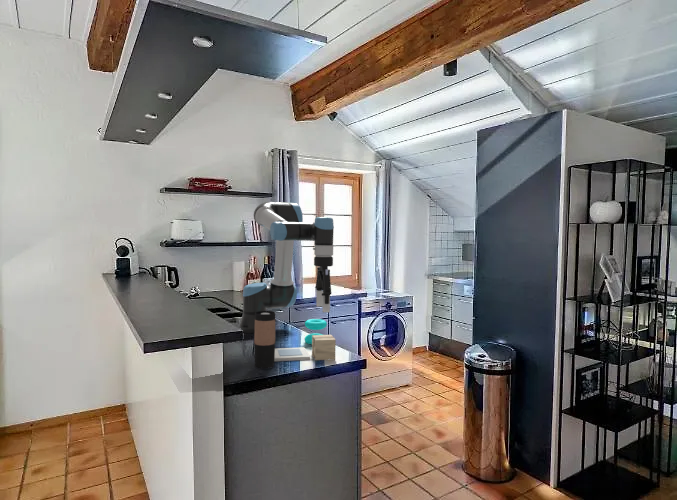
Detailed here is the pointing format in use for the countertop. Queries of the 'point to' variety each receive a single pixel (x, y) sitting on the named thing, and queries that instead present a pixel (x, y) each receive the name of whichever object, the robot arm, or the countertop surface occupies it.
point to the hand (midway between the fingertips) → (322, 309)
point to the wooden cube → (323, 347)
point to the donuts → (314, 328)
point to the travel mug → (264, 339)
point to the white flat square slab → (291, 354)
